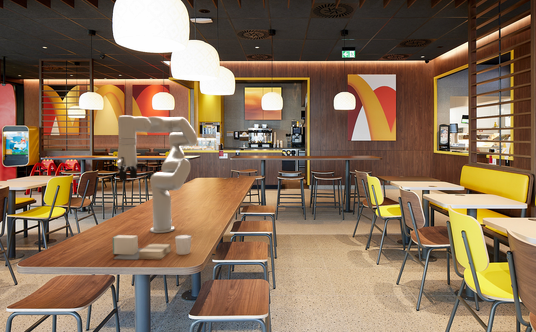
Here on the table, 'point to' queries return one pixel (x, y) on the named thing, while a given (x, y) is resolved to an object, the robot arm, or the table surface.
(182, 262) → the table surface
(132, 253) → the cream block
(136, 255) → the grey mat
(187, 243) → the pale pink cylinder
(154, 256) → the birch step
